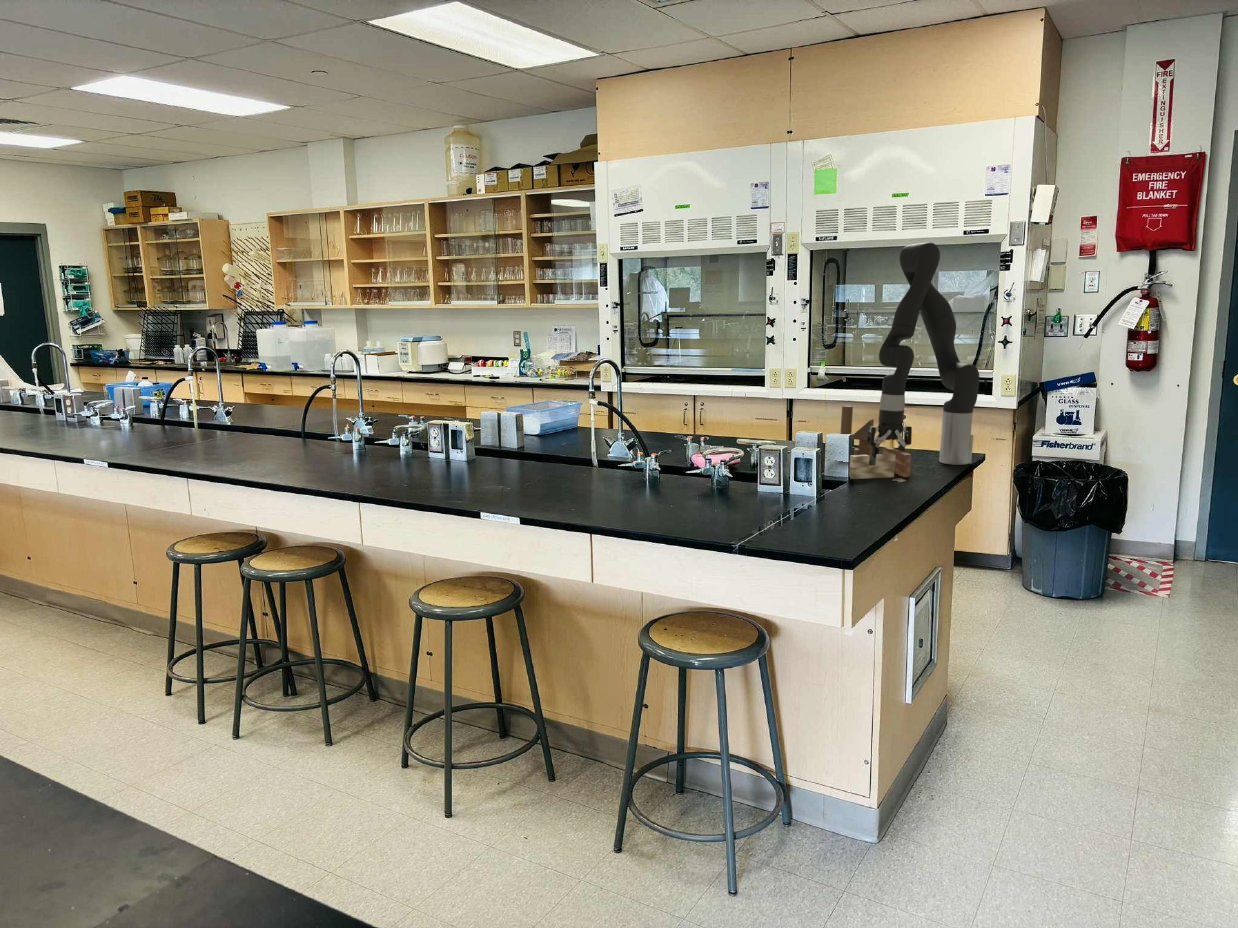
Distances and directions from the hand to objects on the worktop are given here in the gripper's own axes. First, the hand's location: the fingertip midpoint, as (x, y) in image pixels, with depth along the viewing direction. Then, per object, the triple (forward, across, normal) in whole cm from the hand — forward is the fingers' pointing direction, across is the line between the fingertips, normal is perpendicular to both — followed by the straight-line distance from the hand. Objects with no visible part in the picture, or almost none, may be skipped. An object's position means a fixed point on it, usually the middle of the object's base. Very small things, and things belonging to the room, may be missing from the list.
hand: (887, 458), depth 277 cm
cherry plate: (+4, -1, +4) cm, 6 cm away
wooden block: (+4, +3, -18) cm, 18 cm away
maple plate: (+4, +10, +10) cm, 15 cm away
